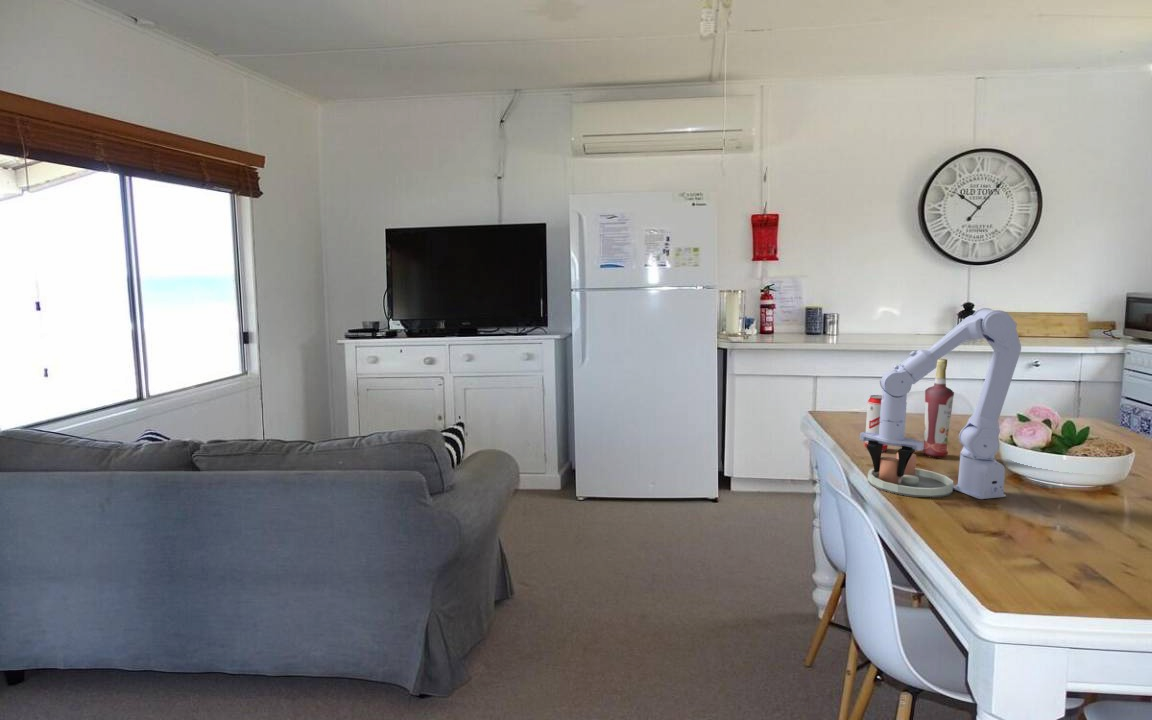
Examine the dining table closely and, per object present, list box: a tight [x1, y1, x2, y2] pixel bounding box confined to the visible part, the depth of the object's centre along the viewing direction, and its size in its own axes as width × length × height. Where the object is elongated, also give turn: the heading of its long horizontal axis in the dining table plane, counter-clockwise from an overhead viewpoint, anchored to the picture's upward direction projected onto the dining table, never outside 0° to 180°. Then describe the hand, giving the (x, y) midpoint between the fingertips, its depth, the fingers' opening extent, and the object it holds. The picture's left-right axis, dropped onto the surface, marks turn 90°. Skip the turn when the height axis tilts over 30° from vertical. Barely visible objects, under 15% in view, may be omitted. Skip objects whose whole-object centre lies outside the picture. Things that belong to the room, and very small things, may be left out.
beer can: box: [864, 394, 889, 452], centre depth 212 cm, size 6×6×16 cm
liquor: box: [921, 358, 955, 459], centre depth 205 cm, size 7×7×28 cm
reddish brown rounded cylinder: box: [879, 456, 899, 485], centre depth 177 cm, size 4×4×6 cm
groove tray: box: [867, 467, 954, 499], centre depth 178 cm, size 19×19×2 cm
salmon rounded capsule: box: [896, 452, 917, 479], centre depth 183 cm, size 4×4×6 cm
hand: (888, 473), depth 178 cm, fingers open, 5 cm apart
